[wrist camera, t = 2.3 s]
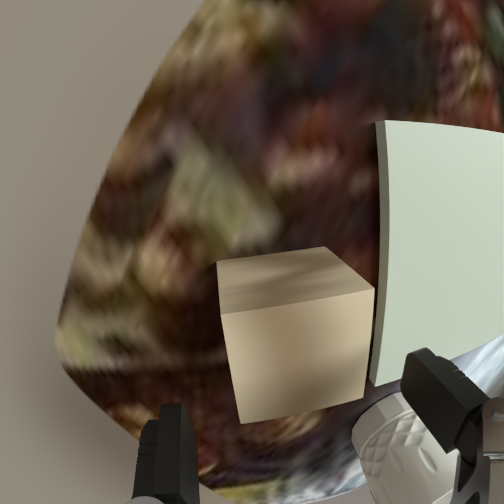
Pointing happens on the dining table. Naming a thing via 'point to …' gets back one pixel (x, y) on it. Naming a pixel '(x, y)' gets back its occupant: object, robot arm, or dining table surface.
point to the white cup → (402, 455)
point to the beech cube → (294, 331)
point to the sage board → (438, 242)
